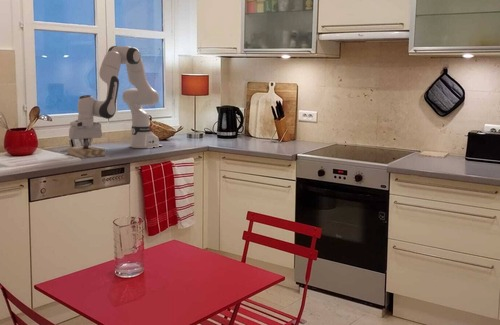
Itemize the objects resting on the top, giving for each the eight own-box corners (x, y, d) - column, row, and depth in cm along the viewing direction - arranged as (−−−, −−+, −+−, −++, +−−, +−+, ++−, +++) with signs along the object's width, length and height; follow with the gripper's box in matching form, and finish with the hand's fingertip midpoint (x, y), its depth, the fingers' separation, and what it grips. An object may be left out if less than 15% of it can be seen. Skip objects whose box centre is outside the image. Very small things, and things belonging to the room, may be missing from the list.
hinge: (78, 151, 346) (73, 136, 345) (72, 153, 347) (67, 138, 346) (91, 148, 362) (86, 133, 361) (85, 150, 363) (80, 135, 362)
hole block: (88, 152, 343) (88, 145, 343) (104, 155, 332) (104, 149, 331) (67, 153, 333) (67, 147, 333) (83, 157, 321) (83, 150, 321)
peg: (86, 152, 334) (86, 137, 333) (89, 152, 332) (89, 137, 331) (82, 152, 332) (82, 137, 331) (85, 153, 330) (85, 138, 329)
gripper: (98, 121, 339) (98, 144, 341) (67, 122, 324) (67, 146, 326) (103, 122, 335) (104, 145, 337) (73, 123, 320) (73, 147, 322)
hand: (85, 145), depth 331 cm, fingers closed on peg, 3 cm apart
